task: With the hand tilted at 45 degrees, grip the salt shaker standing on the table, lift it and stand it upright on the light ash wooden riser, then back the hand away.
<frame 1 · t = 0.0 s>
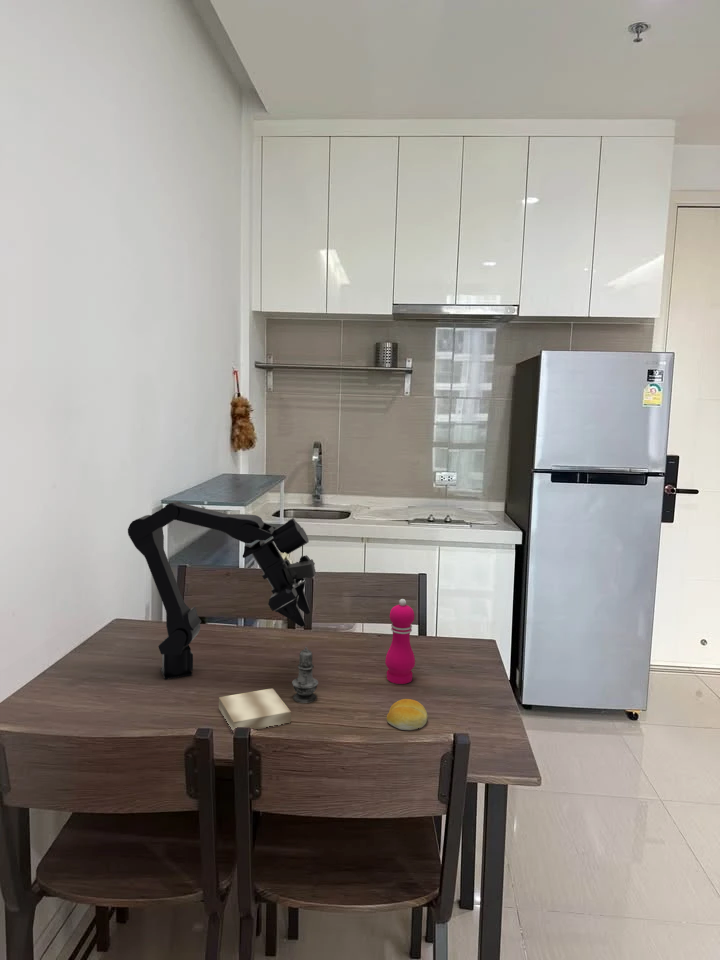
hand: (306, 619, 153), 15 cm above the table, tool tilted 35°, fingers open, 9 cm apart
wooden riser: (254, 715, 136), on the table
pepper mill: (399, 679, 157), on the table
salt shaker: (304, 698, 145), on the table
bread roll: (406, 722, 136), on the table
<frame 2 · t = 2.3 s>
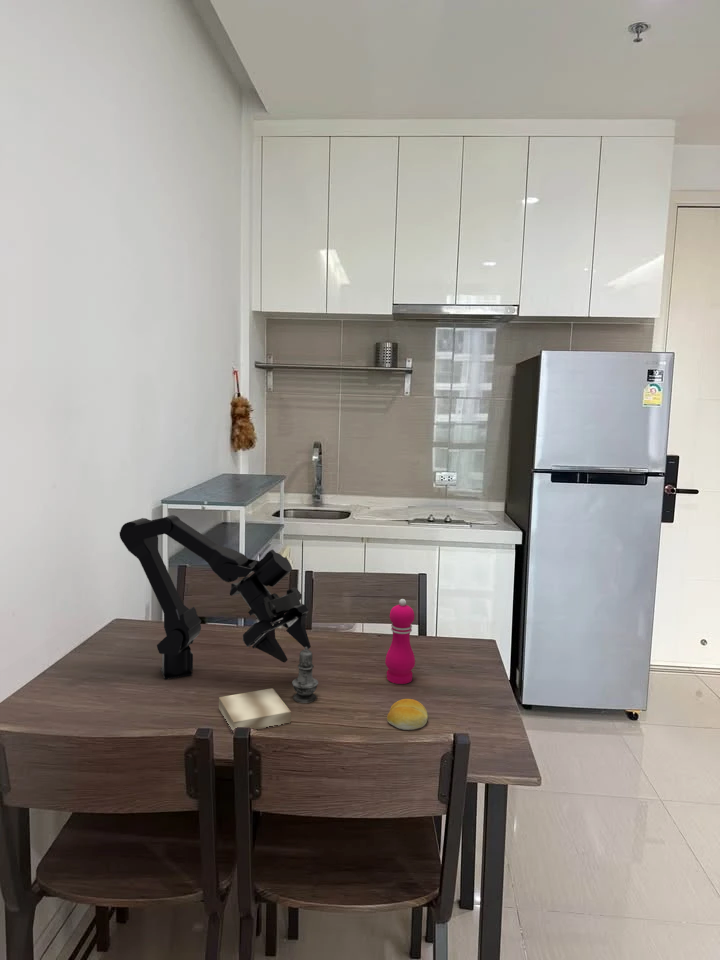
hand: (297, 654, 145), 9 cm above the table, tool tilted 45°, fingers open, 9 cm apart
nothing on the table moved.
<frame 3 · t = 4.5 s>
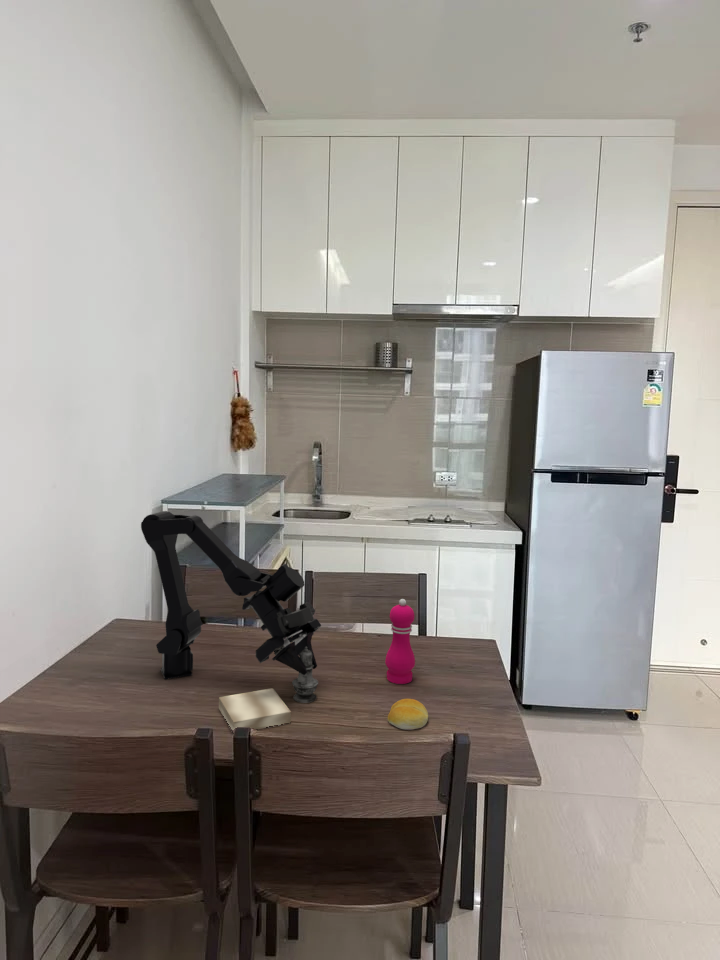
hand: (310, 670, 144), 7 cm above the table, tool tilted 45°, fingers closed on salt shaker, 4 cm apart
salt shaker: (304, 698, 145), on the table, touching gripper
everything else where it was.
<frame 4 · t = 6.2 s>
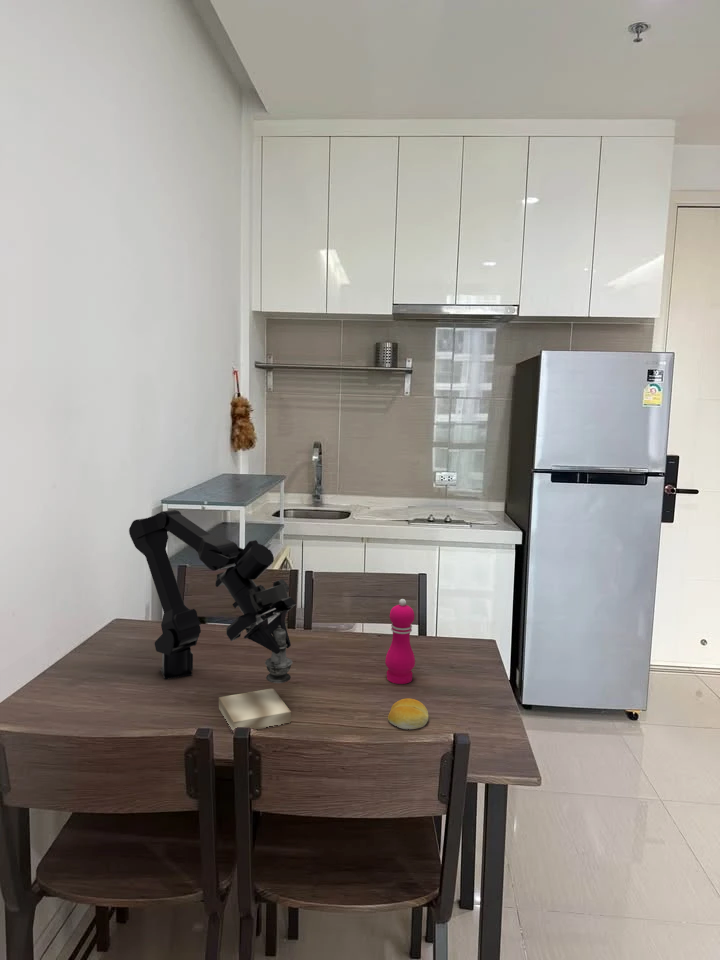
hand: (284, 649, 138), 13 cm above the table, tool tilted 45°, fingers closed on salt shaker, 4 cm apart
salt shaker: (278, 678, 140), point 6 cm above the table, touching gripper
everything else where it was.
when the fingers open (10 cm above the table, at t = 8.0 s): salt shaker drops 1 cm, resting on wooden riser.
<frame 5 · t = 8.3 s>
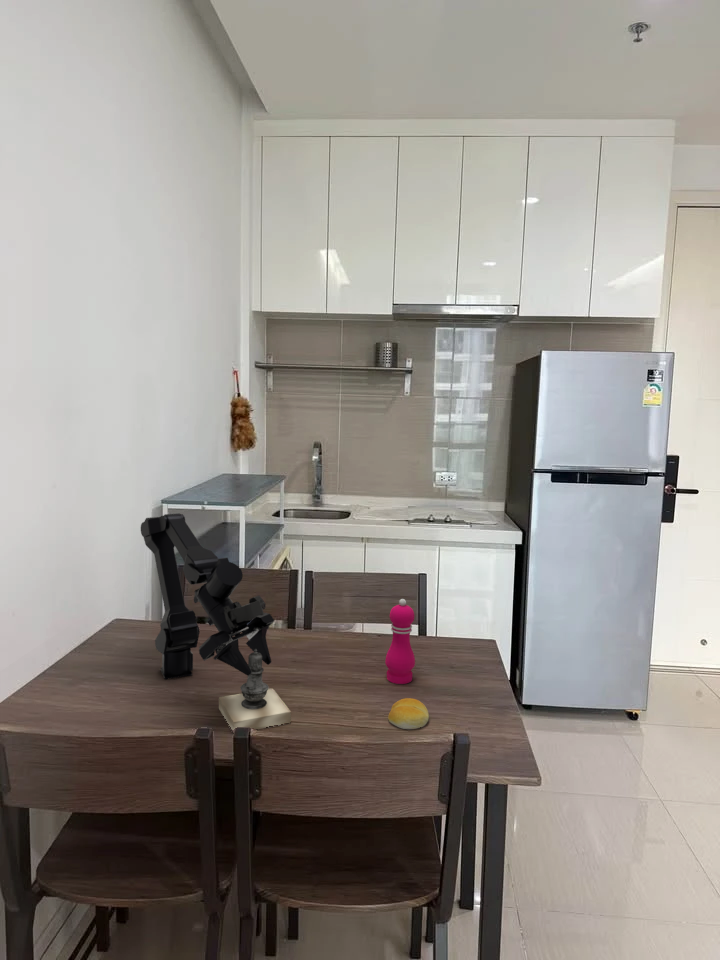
hand: (260, 668, 134), 11 cm above the table, tool tilted 45°, fingers open, 6 cm apart
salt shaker: (254, 704, 136), point 2 cm above the table, touching wooden riser
everything else where it was.
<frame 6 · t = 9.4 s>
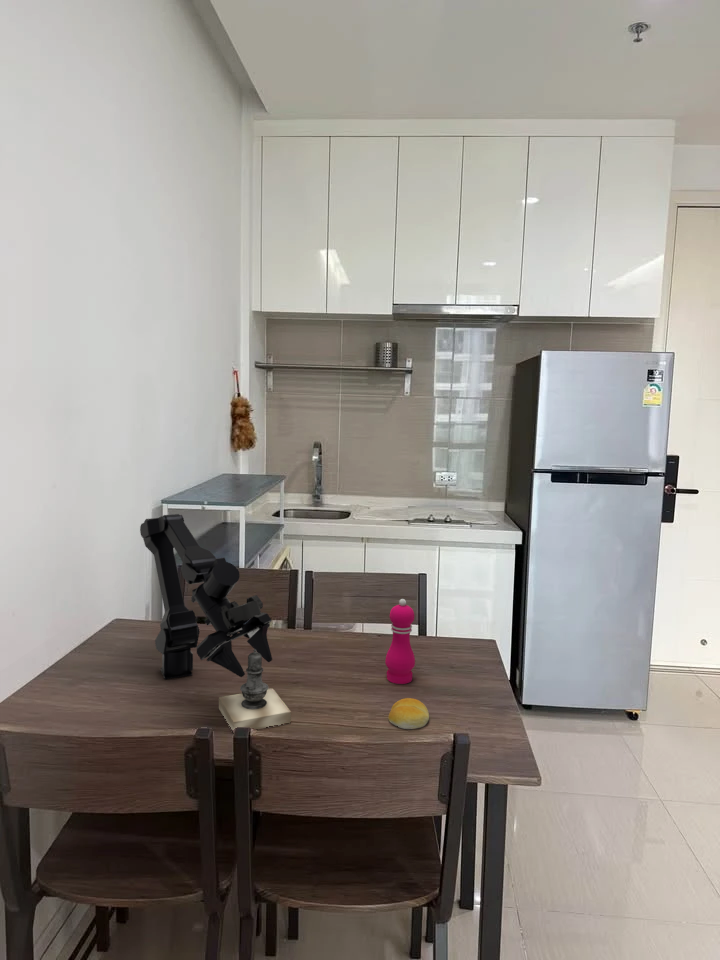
hand: (257, 668, 134), 10 cm above the table, tool tilted 45°, fingers open, 9 cm apart
nothing on the table moved.
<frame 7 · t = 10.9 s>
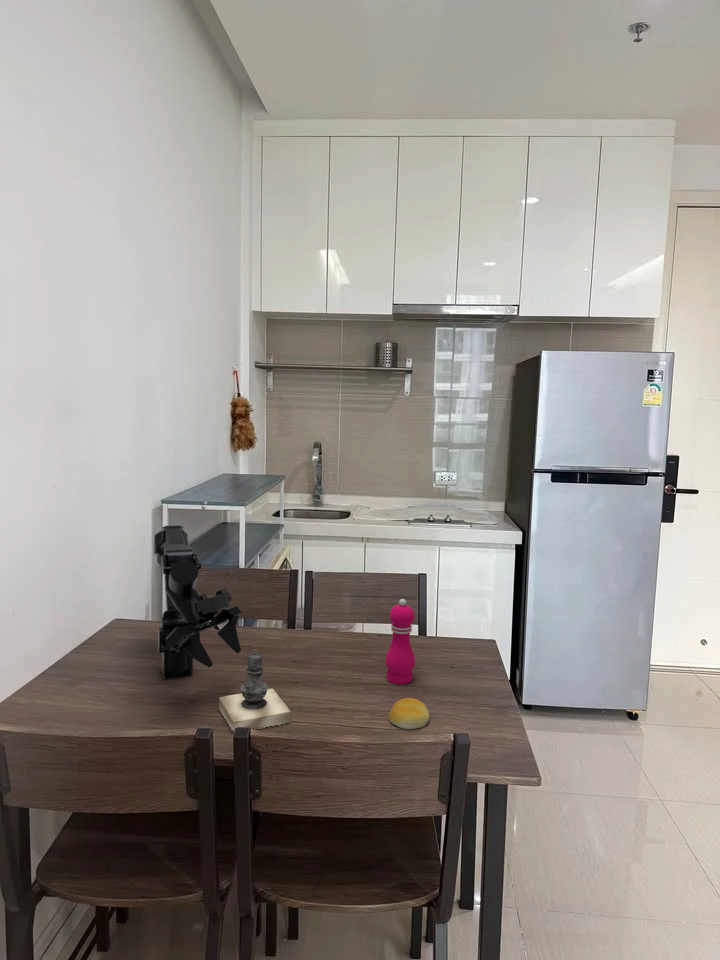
hand: (225, 659, 138), 11 cm above the table, tool tilted 45°, fingers open, 9 cm apart
nothing on the table moved.
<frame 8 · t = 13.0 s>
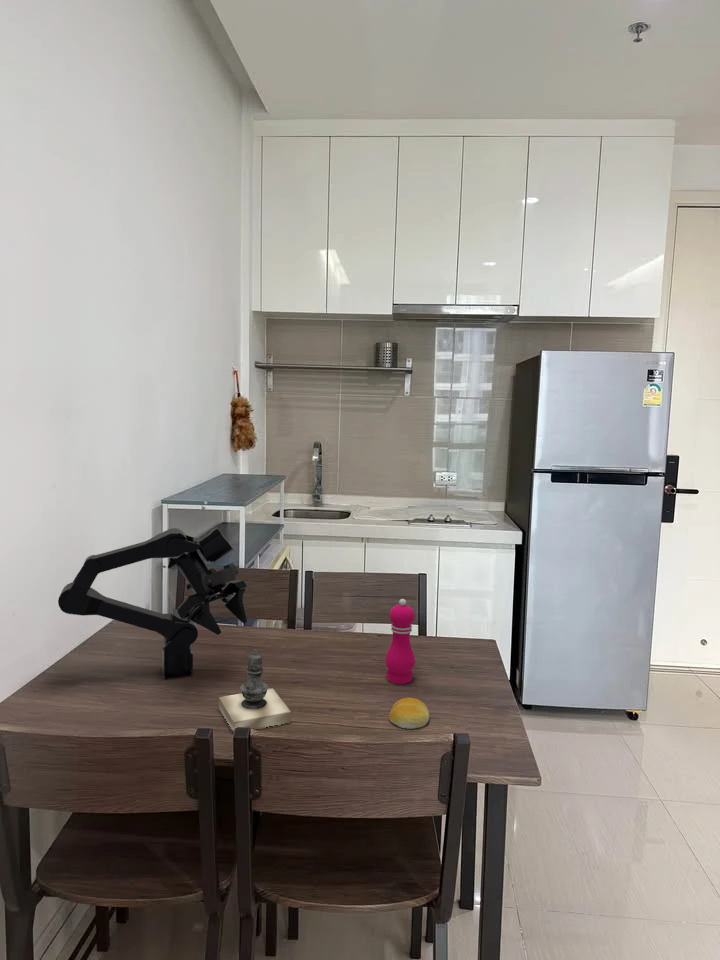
hand: (233, 627, 149), 14 cm above the table, tool tilted 45°, fingers open, 9 cm apart
nothing on the table moved.
at the end: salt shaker inside the target area on the wooden riser (0.3 cm from its centre), point 2.3 cm above the wooden riser's base; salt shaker tilted 0°; the gripper is holding nothing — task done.
